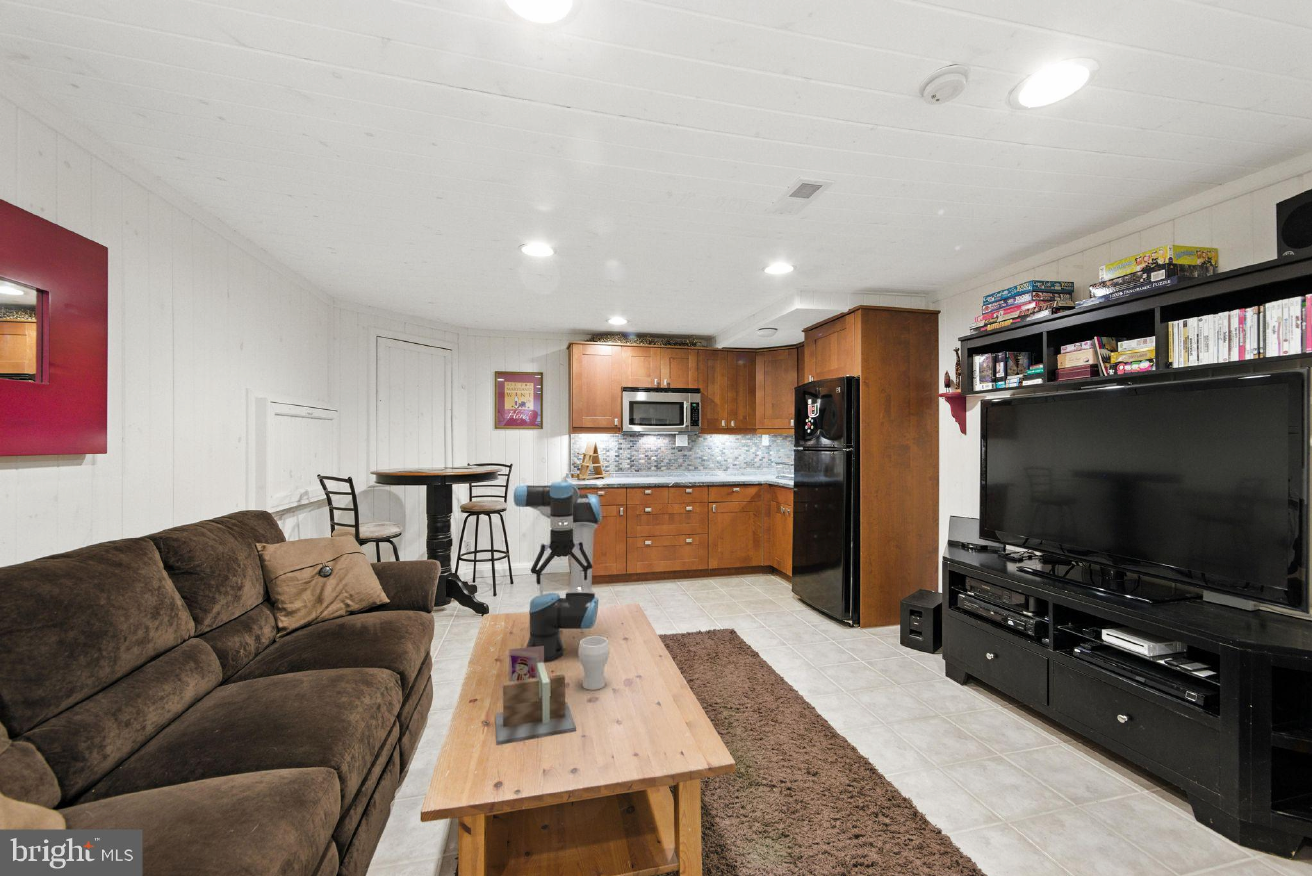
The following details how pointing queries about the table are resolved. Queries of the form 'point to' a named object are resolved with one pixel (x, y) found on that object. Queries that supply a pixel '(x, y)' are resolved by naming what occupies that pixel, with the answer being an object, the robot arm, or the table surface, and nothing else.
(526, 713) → the wood panel stand
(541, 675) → the sage plate
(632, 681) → the table surface
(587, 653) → the cup
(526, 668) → the greeting card
